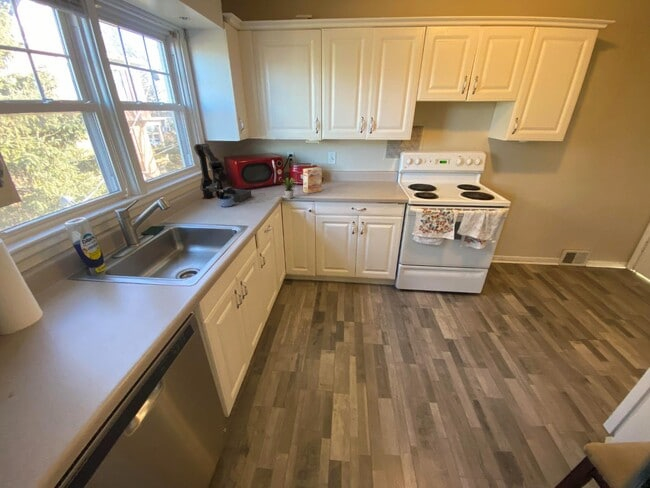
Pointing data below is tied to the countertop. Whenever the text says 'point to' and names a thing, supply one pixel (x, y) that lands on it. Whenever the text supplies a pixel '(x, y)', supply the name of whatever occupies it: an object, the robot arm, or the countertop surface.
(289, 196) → the house plant
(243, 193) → the tote
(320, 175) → the coffeecake box
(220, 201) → the rice bowl
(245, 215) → the countertop surface
